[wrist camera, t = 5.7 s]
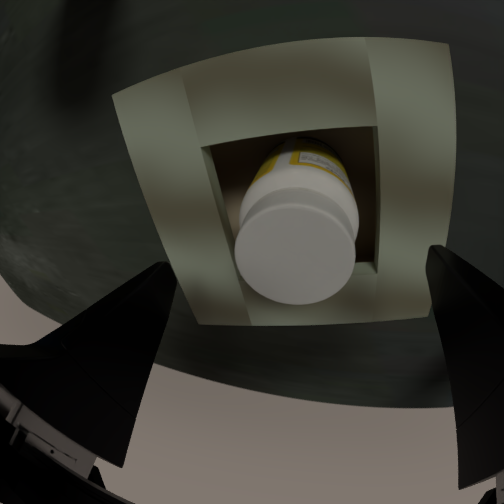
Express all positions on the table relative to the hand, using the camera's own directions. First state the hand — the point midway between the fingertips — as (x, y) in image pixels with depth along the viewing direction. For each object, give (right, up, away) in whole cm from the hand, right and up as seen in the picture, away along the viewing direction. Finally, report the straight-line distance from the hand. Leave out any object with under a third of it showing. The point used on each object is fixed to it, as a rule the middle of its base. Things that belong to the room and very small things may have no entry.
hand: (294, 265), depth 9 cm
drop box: (+2, +5, +8) cm, 10 cm away
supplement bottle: (+2, +5, +7) cm, 9 cm away
